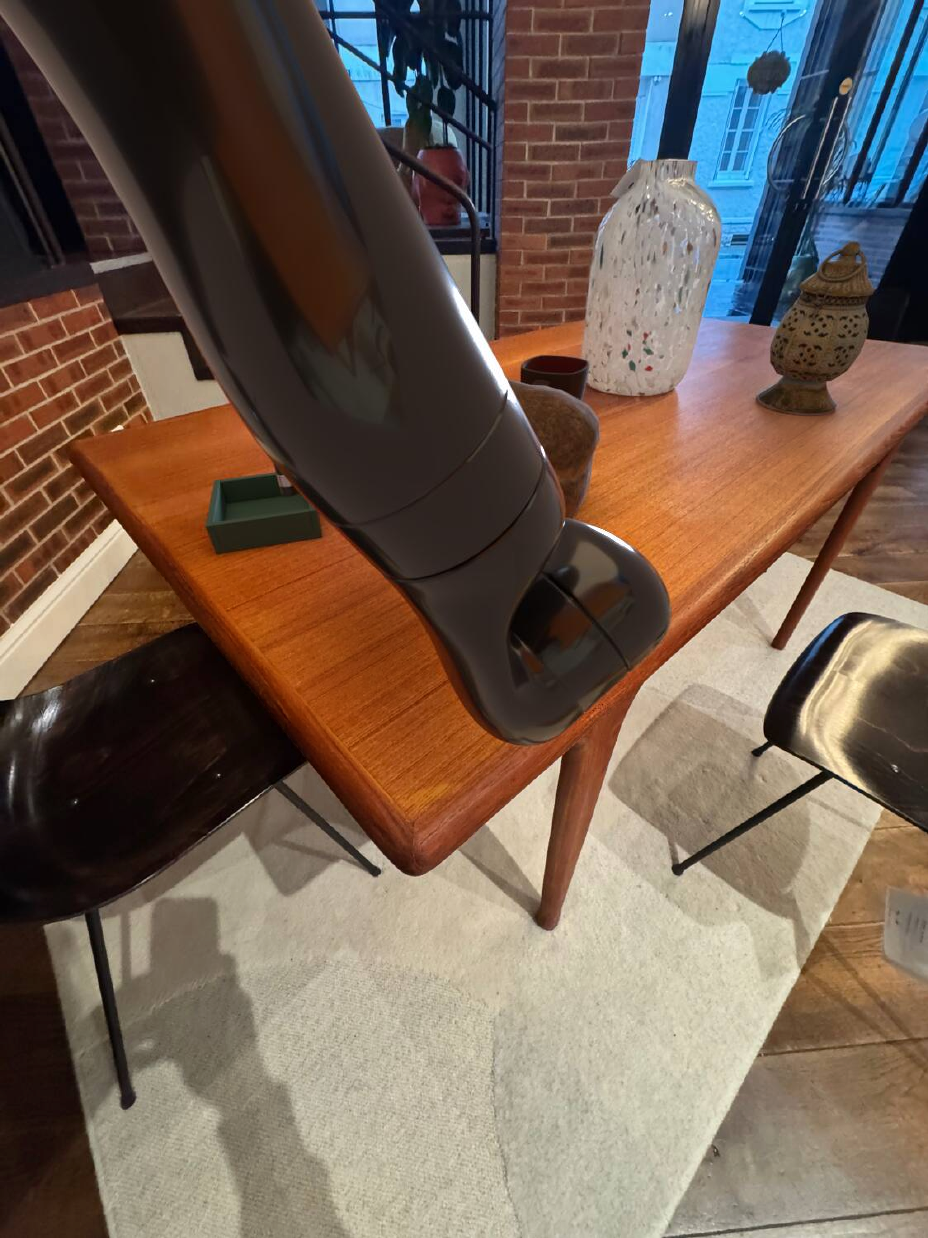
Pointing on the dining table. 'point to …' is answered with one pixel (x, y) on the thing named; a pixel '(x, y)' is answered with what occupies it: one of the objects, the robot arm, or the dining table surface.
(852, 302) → the lantern
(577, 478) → the bread
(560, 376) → the cup
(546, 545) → the robot arm
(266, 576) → the dining table surface
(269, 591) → the dining table surface
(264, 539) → the tote
